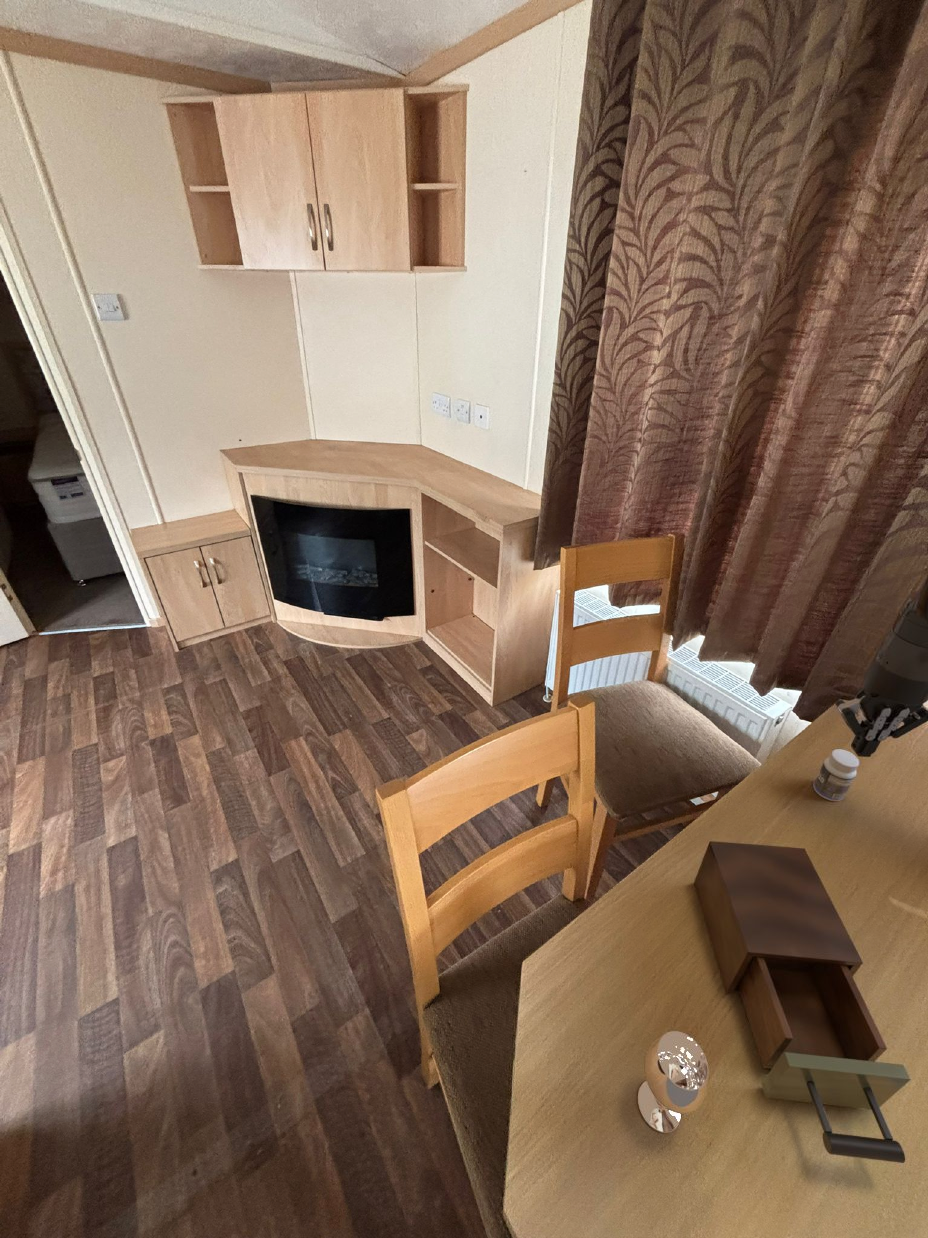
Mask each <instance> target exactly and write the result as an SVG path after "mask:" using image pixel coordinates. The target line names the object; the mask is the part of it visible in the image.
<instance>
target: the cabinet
mask: <svg viewBox="0 0 928 1238" xmlns="http://www.w3.org/2000/svg"><path fill="white" fill-rule="evenodd" d="M693 887H694V889H695V893H696V896H697V900H698V903H699V907H700V909H701V913H702V917H703V921H704V923H705V927H706V930H707V934H708V937H709V940H710V944H711V947H712V950H713V951H712V952H713V954H714V958H715V961H716V964H717V965H716V966H717V968H718V971H719V974H720V975H719V976H720V978H721V981H722V984H723V985H722V986H723V988H724V992H725V994H727V995H728V994H729V995H737V996H741V994H740V991H739V988H738V983H739V981H740V979H741V977H742V976H743V974H744V972H745V970H746V968H747V966H748V965H749V963H750V961H751V959H752V957H753V956H758V957H769V958H780V959H790V960H801V961H812V962H822V963H833V964H844V965H847V967H848V969H849V971H850V973H851V975H852V977H853V978H854V976H855V974H856V973H857V972H858V970H859V969H860V968H861V966H863V963H864V962H863V960H862V957H861V956H860V954H859V951H858V949H857V948H856V945H855V944H854V942H853V940H852V938H851V936H850V934H849V932H848V930H847V929H846V927H845V925H844V922H843V920H842V918H841V916H840V915H839V913H838V911H837V909H836V907H835V905H834V903H833V901H832V899H831V896H830V895H829V893H828V892H827V889H826V888H825V885H824V883H823V881H822V879H821V877H820V875H819V873H818V872H817V870H816V868H815V866H814V864H813V862H812V860H811V858H810V856H809V854H808V853H807V850H806V848H804V847H793V846H778V845H767V844H766V845H765V844H753V843H741V842H726V841H715V840H709V843H708V845H707V846H706V850H705V852H704V854H703V857H702V860H701V863H700V866H699V868H698V870H697V874H696V876H695V879H694V881H693Z"/></svg>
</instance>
